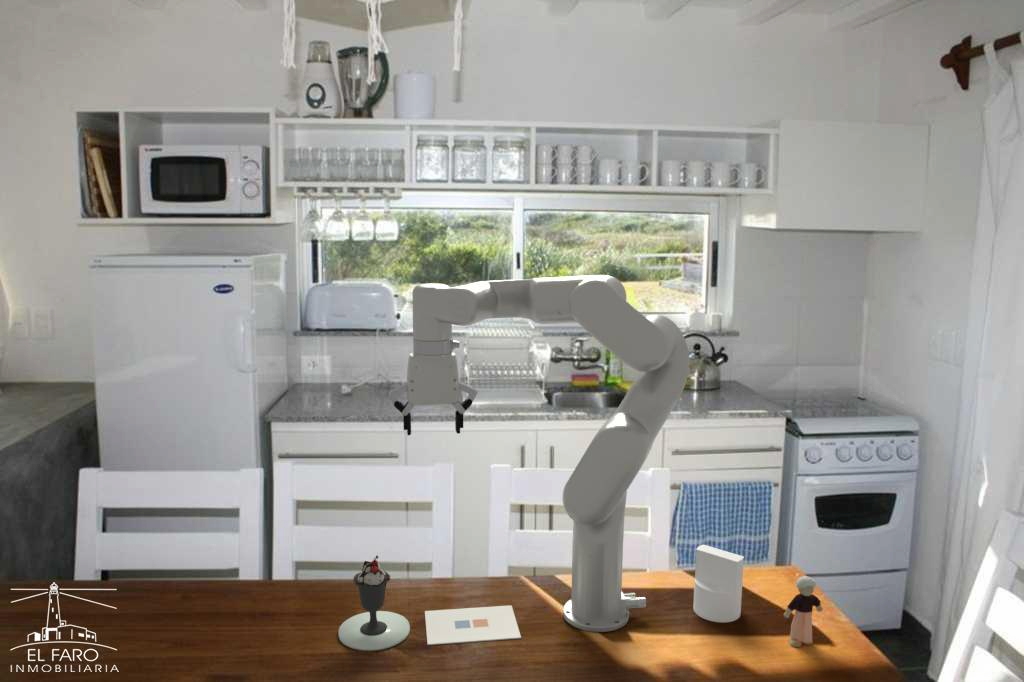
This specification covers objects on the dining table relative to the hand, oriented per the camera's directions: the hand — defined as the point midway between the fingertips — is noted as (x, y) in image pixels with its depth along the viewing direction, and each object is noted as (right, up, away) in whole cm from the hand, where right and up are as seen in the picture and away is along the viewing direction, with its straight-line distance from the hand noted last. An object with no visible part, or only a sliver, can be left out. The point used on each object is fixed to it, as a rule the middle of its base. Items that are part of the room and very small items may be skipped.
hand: (433, 432), depth 161 cm
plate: (-10, -36, -11) cm, 38 cm away
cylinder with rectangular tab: (+56, -35, -2) cm, 66 cm away
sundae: (-10, -35, -11) cm, 38 cm away
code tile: (+8, -35, -8) cm, 37 cm away
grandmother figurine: (+68, -37, -13) cm, 79 cm away
